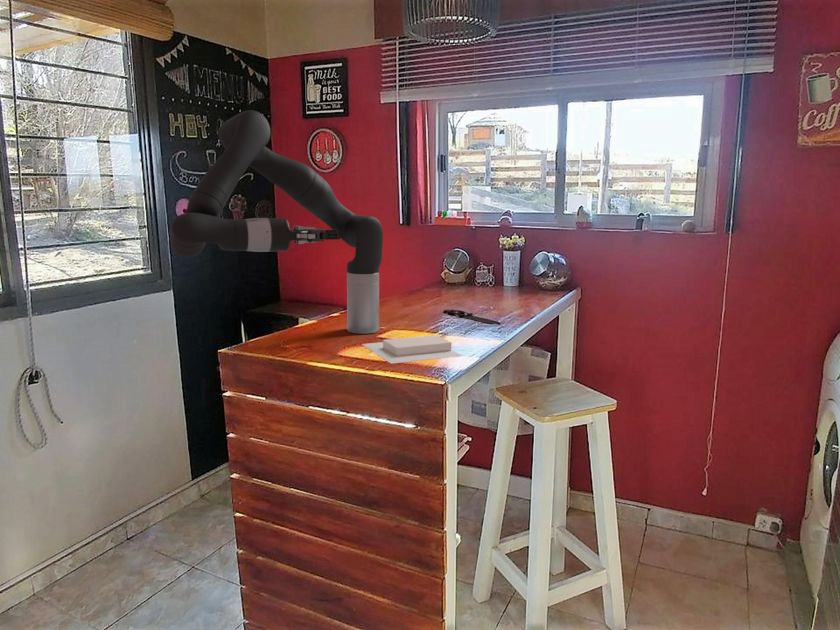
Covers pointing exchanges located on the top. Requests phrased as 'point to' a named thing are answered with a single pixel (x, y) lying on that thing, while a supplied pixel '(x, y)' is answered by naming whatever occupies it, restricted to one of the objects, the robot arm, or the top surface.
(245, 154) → the robot arm
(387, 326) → the top surface
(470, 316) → the knife
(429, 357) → the mat
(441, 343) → the tile
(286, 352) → the top surface
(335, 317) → the top surface
